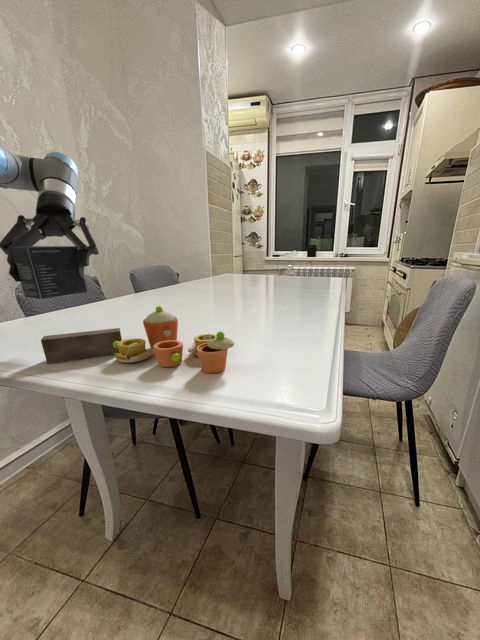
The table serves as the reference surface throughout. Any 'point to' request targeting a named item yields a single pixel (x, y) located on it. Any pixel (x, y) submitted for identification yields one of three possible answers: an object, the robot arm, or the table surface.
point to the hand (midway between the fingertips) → (47, 276)
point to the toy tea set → (174, 344)
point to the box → (48, 271)
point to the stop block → (80, 345)
